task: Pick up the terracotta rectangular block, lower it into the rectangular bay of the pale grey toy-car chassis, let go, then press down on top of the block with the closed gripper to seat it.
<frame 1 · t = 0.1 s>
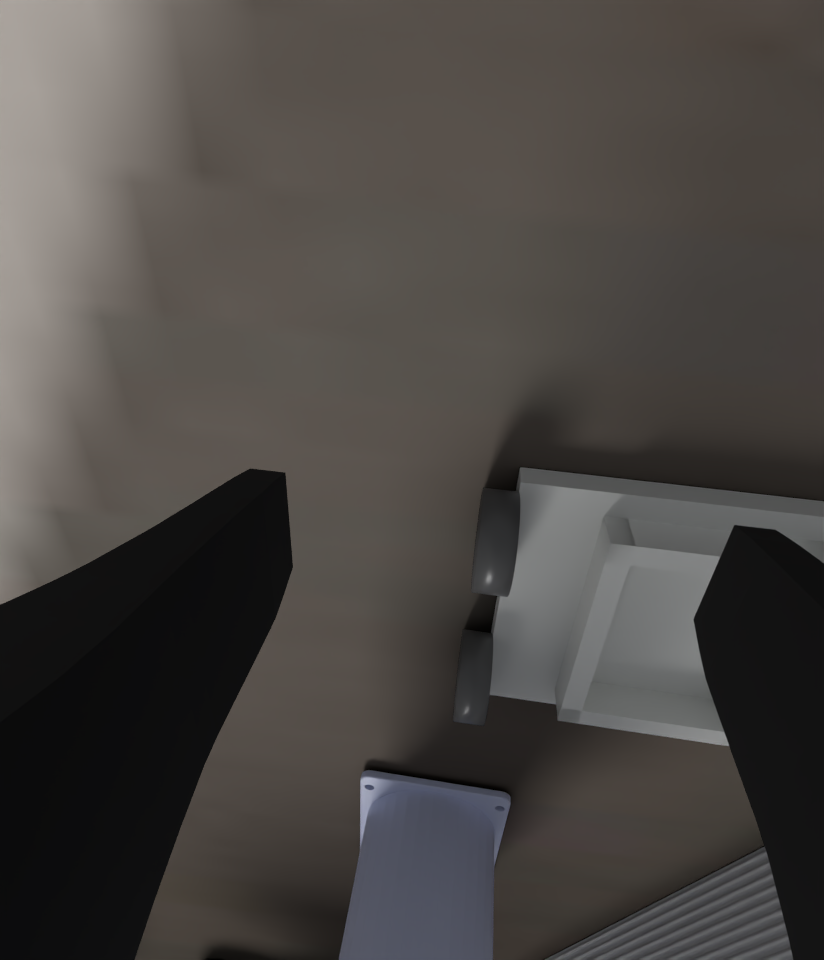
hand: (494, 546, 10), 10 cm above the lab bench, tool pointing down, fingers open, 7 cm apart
chassis: (666, 606, 23), on the lab bench
aluminum extrusion profile: (706, 948, 38), on the lab bench
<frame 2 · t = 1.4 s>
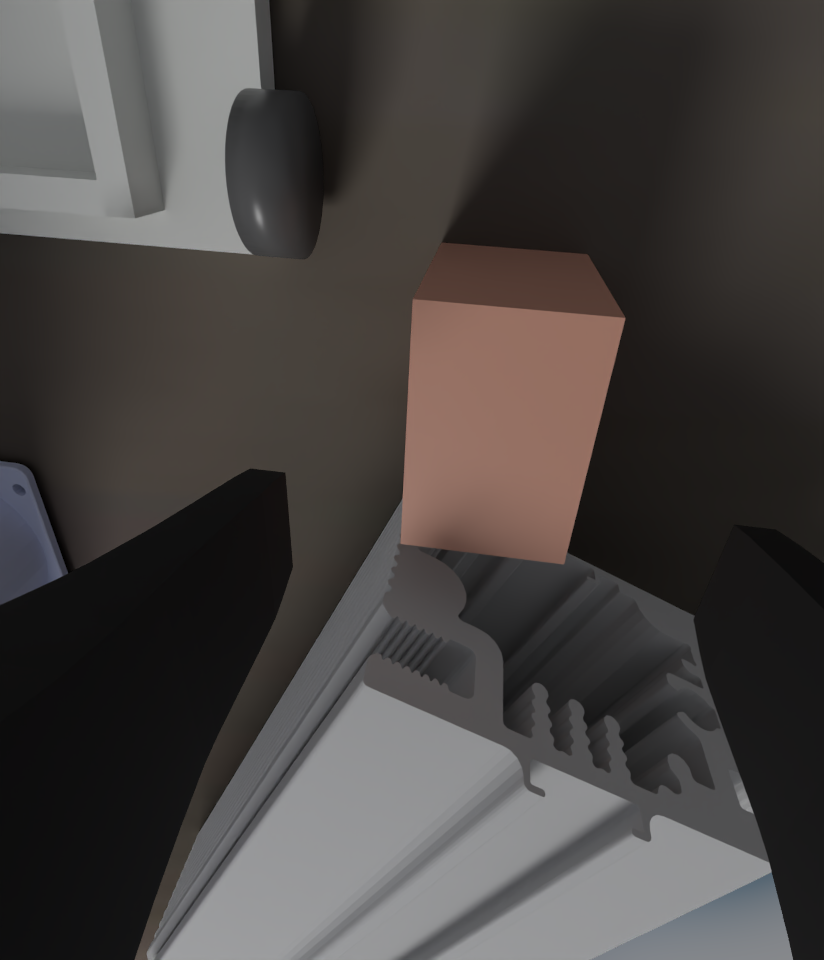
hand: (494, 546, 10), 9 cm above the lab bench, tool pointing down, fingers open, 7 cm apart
terracotta rectangular block: (499, 352, 18), on the lab bench
aluminum extrusion profile: (407, 749, 30), on the lab bench
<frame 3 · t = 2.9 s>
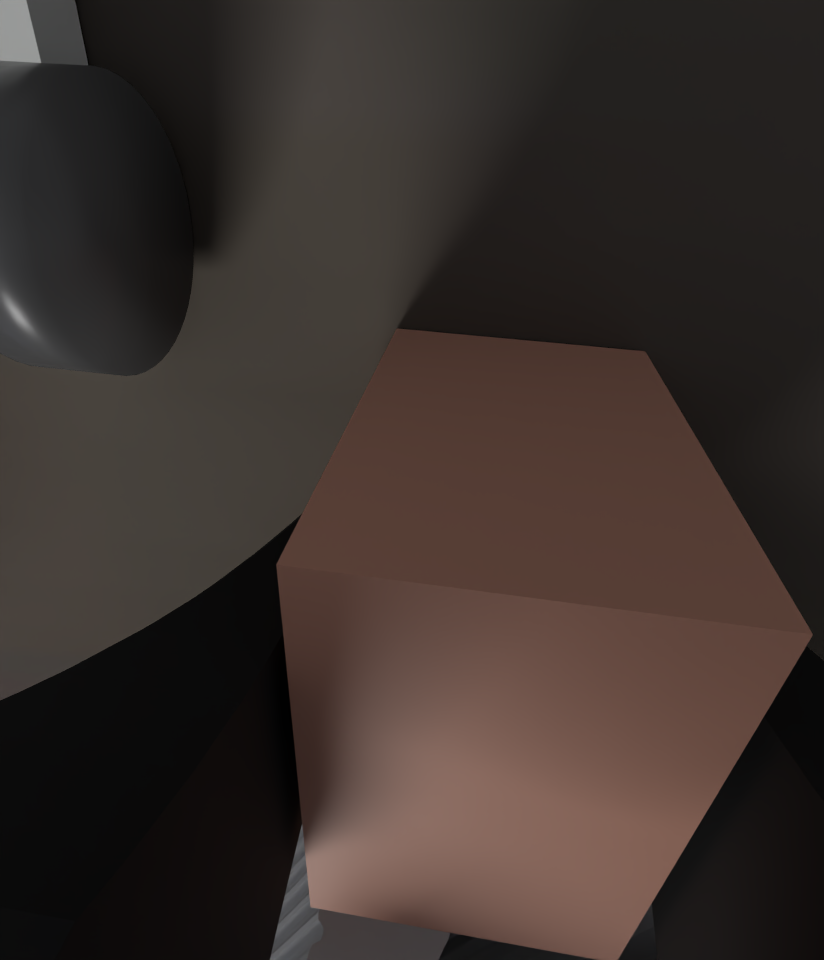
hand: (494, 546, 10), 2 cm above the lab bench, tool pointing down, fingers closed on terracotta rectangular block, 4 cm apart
terracotta rectangular block: (495, 493, 11), on the lab bench, touching gripper
aluminum extrusion profile: (381, 928, 23), on the lab bench
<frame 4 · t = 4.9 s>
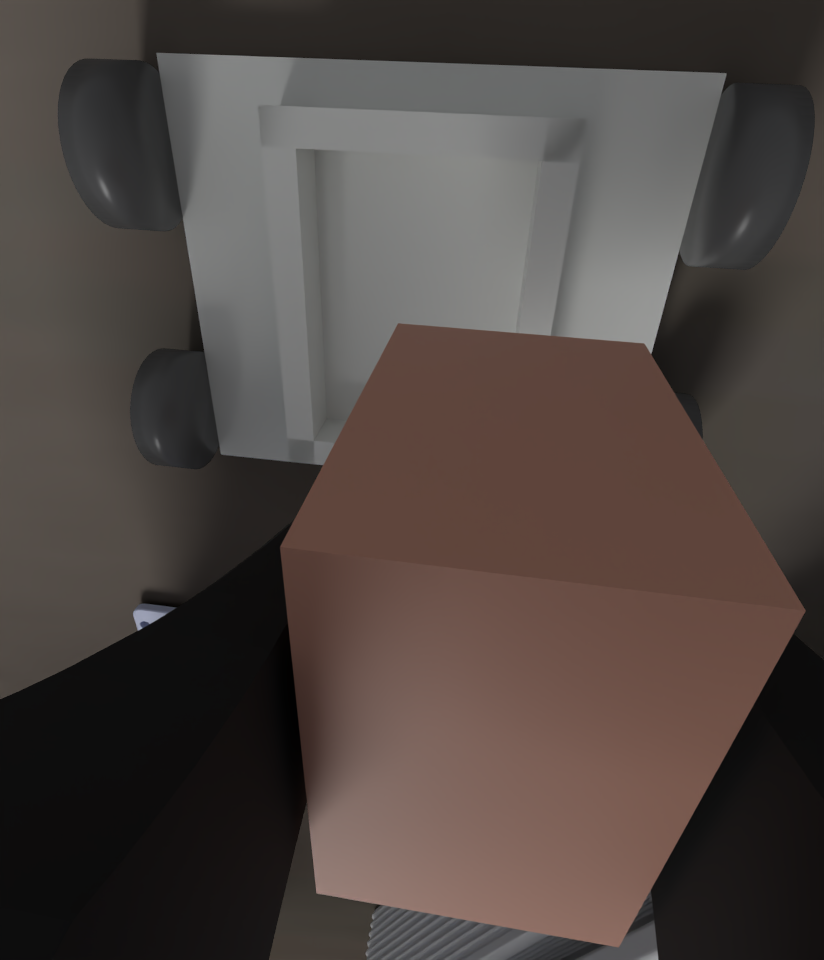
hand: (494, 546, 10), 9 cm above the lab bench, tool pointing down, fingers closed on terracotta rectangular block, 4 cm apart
chassis: (422, 296, 17), on the lab bench
terracotta rectangular block: (497, 486, 11), point 8 cm above the lab bench, touching gripper
aluminum extrusion profile: (600, 849, 32), on the lab bench
when the fingers open (4 cm above the lab bench, at t = 7.1 s): terracotta rectangular block stays where it is, resting on chassis.
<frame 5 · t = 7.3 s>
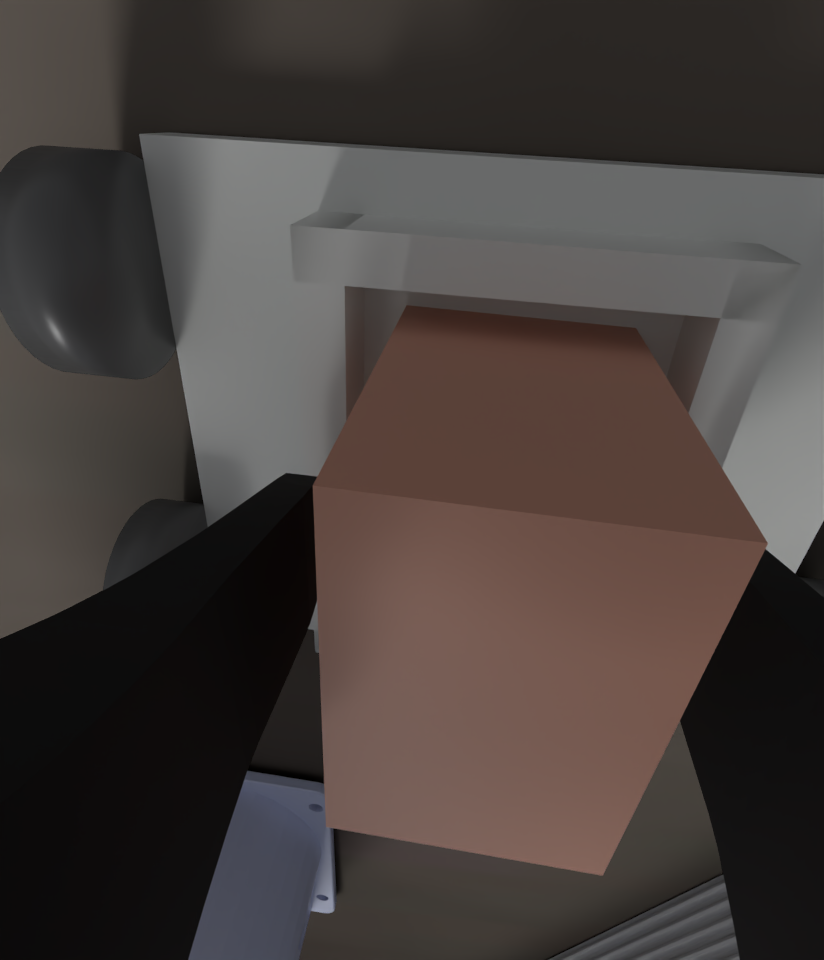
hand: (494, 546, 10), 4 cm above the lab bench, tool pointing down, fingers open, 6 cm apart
chassis: (496, 443, 13), on the lab bench
terracotta rectangular block: (495, 463, 12), point 1 cm above the lab bench, touching chassis
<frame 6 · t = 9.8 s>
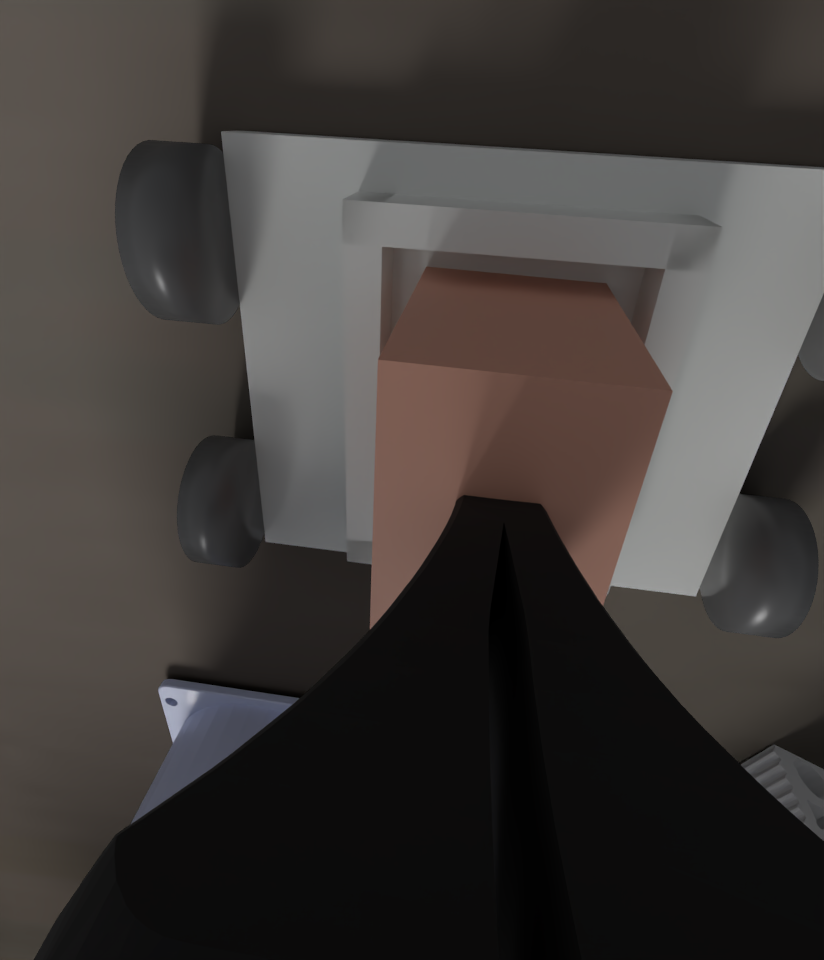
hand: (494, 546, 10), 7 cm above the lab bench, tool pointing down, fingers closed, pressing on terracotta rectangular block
chassis: (497, 386, 15), on the lab bench
terracotta rectangular block: (496, 398, 15), point 1 cm above the lab bench, touching chassis, gripper
aluminum extrusion profile: (645, 924, 31), on the lab bench
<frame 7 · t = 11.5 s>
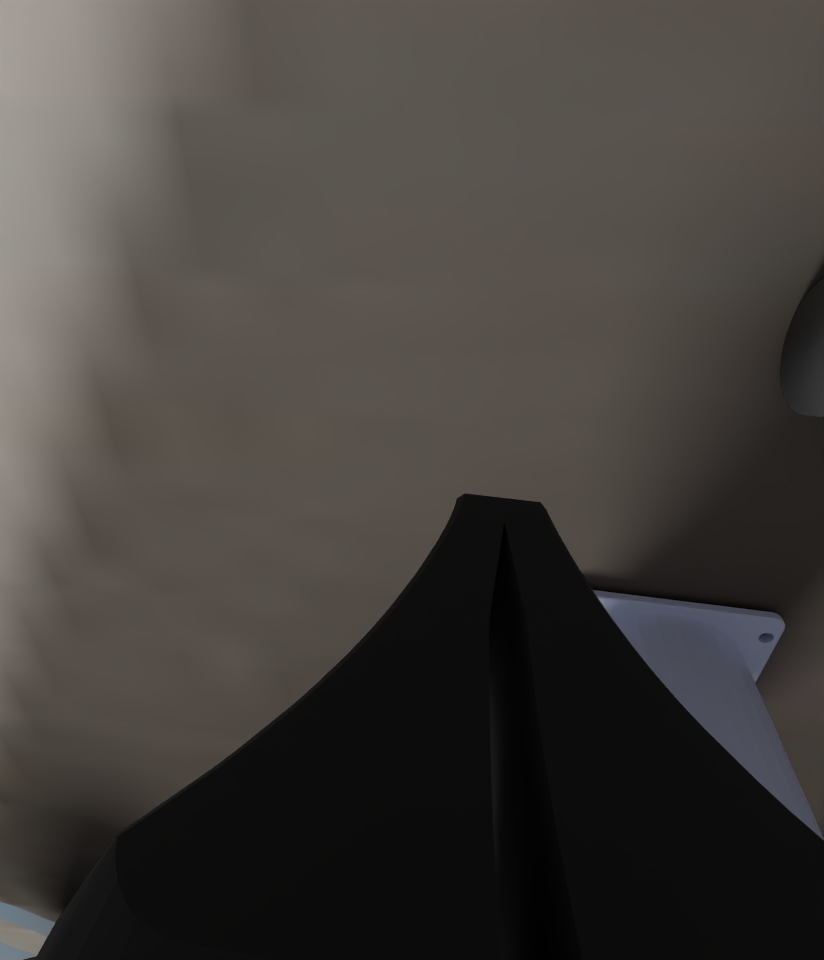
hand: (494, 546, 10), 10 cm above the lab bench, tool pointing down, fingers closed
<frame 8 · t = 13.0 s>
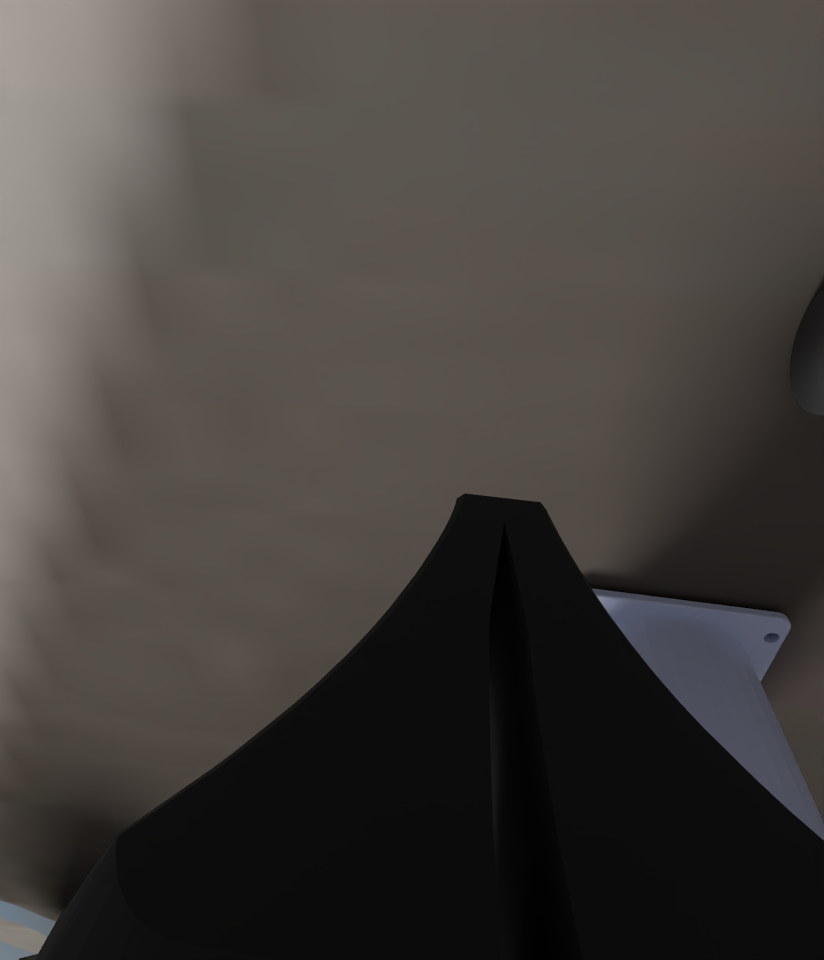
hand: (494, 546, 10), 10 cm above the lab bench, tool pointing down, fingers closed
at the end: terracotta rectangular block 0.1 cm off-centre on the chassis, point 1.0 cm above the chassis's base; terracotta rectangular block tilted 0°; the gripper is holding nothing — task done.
